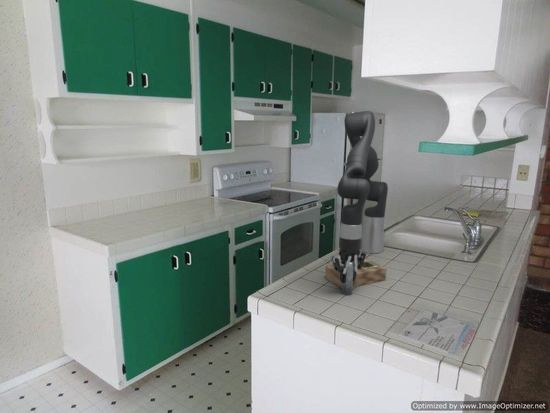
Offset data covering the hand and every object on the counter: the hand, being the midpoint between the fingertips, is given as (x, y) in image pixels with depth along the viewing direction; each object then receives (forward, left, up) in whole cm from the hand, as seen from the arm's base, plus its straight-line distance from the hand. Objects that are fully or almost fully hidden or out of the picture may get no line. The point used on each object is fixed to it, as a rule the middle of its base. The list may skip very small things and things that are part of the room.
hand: (347, 281), depth 141 cm
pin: (0, 0, -4) cm, 4 cm away
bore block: (-11, -9, -4) cm, 15 cm away
